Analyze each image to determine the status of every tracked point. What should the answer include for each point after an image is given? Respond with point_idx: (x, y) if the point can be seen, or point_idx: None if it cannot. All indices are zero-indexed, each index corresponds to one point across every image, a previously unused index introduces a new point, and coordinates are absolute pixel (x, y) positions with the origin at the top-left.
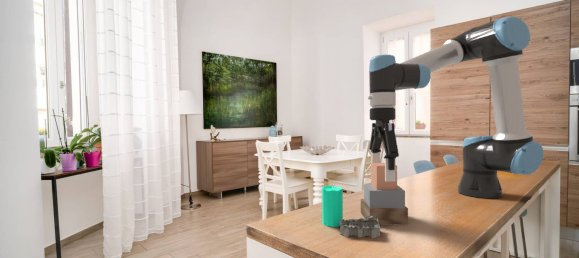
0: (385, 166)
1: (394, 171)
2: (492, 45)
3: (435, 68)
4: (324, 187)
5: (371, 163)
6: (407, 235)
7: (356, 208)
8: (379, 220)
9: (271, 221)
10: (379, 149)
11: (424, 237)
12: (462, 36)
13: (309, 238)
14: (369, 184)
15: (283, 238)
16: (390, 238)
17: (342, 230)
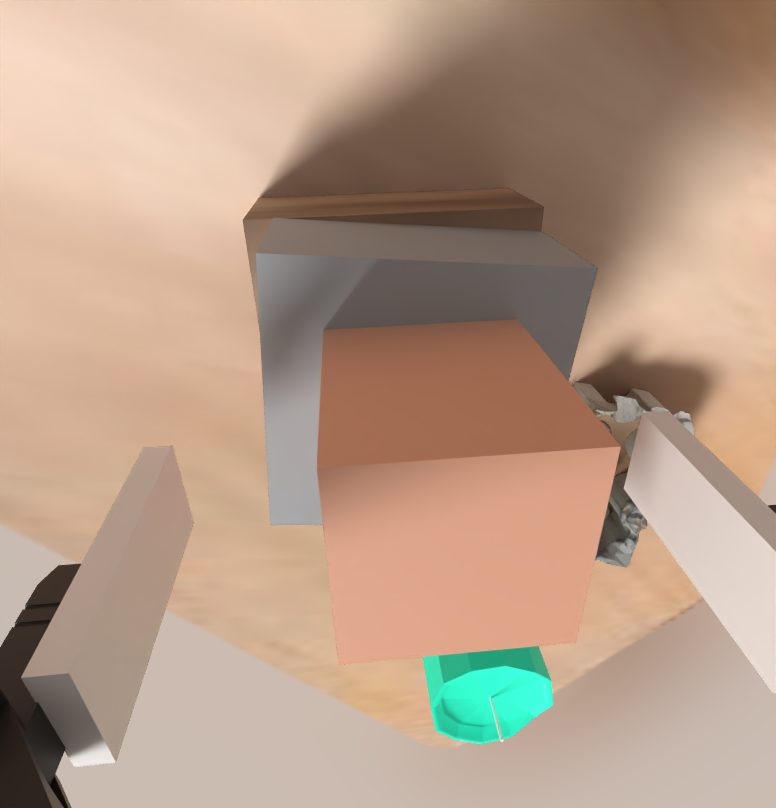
0: (718, 598)
1: (726, 479)
2: None
3: None
4: (459, 730)
5: (359, 660)
6: (671, 257)
7: (186, 424)
8: None
9: (414, 714)
10: (33, 761)
11: (722, 172)
12: None
13: (601, 612)
14: (304, 493)
15: (583, 669)
16: (681, 351)
17: (601, 534)
